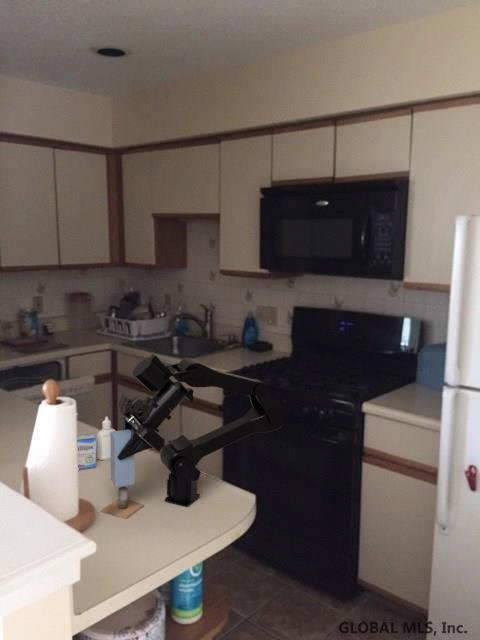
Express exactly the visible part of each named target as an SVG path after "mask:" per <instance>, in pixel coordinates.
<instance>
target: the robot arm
mask: <svg viewBox="0 0 480 640" xmlns="http://www.w3.org/2000/svg"><path fill="white" fill-rule="evenodd" d="M131 374H132V376H133V378H135V379H136V380H137V381H138V382H139V383H140V384H141V385H142V386H143V387H144V388H146V389H147V390H148V391H149V392H154V391H156V393H154V395H153V396H152V397H150V396H146V397H145V398H144V399H142V398H139V397H137V396H134V395H130V394H128V393H125V392H122V394H121V396H120V398H119V399H118V403H117V405H116V407H118V408H119V410H120V414H122V415H123V417H122V419H121V420H122V427H123V428H122V430H130V431H131V438H130V439H129V441H128V442H127V444H126V445H125V446H124V448H123V449H122V451H121V452H120V454H119V455H118V457H117V458H118V459H119V460H123V459H125V458H127V457H130V456H132V455H134V456H135V455H136V454H138V453H140V452H144V451H146V450H149V449H151V450H152V449H153V448H154V449H155V450H156V451H158V452H160V455H159V457H160V461H161V463H162V464H163V465H164V466H165V467H166V469H168V471H169V472H170V473H169V474H168V478H166V479H167V480H166V495H167V497H165V498H164V502H168V503H170V504H175V505H179V506H183V507H189V506H190V505H192V504H193V503H195V501H197V500H198V499H199V498H200V497H201V494H200V493H198V481H199V479H200V476H201V473H202V472H201V470H199V468H198V467H197V465H199V462H200V461H201V460H202V459H203V458H204V457H206V456H208V455H210V454H212V453H214V452H216V451H219V450H221V449H224V448H225V447H228V446H229V445H231V444H234V443H236V442H238V441H240V440H242V439H244V438H246V437H248V436H250V435H254V434H260V433H261V434H262V433H269V432H274V431H276V430H279V429H280V428H282V426H283V425H284V422H285V418H286V417H285V412H284V410H282V409H281V408H280V407H279V406H278V405H279V404H278V403H277V401H276V400H275V399H274V397H273V396H272V394H271V392H270V390H269V389H268V388H269V387H268V386H267V384H266V383H265V382H262V380H261V381H260V380H258V379H257V378H249V377H245V376H241V375H238V374H233V373H229V372H225V371H222V370H217V369H214V368H212V367H210V366H208V365H206V364H203V363H202V362H200V361H197V360H196V359H193V358H191V357H185V358H183V359H182V360H180V361H179V362H178V363H173V364H169V365H165V364H164V363H163V362H162V360H161V359H160V358H159V357H158V356H157V355H156V354H154V353H153V354H151V355H150V356H148V357H146V358H145V359H143V360H142V361H139V362H138V364H137V365H136V366H135V367H134V369H133V370H132V373H131ZM171 378H172V379H175V380H176V381H173V380H171ZM183 383H185V384H186V385H187V386H189V387H186V386H185V385H184V384H183ZM212 387H214V388H219V389H224V390H228V391H232V392H235V393H240V394H245V395H248V396H249V400H250V404H251V406H252V407H251V408H249V410H248V411H247V413H245V415H244V416H243V417H240V418H238V419H235V420H234V421H231V422H229V423H227V424H225V425H223V426H220V427H218V428H216V429H214V430H212V431H210V432H208V433H205V434H203V435H200V436H199V437H197V438H194V439H188V438H187V437H186V436H185V435H184V434H182V435H180V436H179V437H177V438H175V439H173V440H168V441H167V444H165V443H166V442H165V441H166V439H165V438H164V437H163V436H162V435H161V434H160V433H159V432H160V430H159V427H160V426H161V425H162V423H163V422H164V421H165V420H168V421H169V420H171V419H172V415H171V413H173V411H174V410H176V409H177V407H178V406H179V404H181V402H182V401H183V400H184V399H185V398H186V399H187V400H188V401H190V402H191V403H192V402H194V389H193V388H204V389H205V388H212ZM124 416H125V417H126V418H125V417H124Z"/></svg>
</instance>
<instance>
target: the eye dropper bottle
mask: <svg viewBox="0 0 480 640" xmlns="http://www.w3.org/2000/svg"><path fill="white" fill-rule="evenodd" d="M101 422H102V423H101V424H102V425H101V429H100V430H99V431H97V434H96V460H99V461H107V460H111V443H110V432H113V431H116V430H115V429H114V428H112V421H111V420H110V419H109V416H105V417H104V420H103V421H101Z"/></svg>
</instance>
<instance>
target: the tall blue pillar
mask: <svg viewBox="0 0 480 640" xmlns="http://www.w3.org/2000/svg"><path fill="white" fill-rule="evenodd" d="M130 438H131V431H130V430H123V429H122V430H115V431H113V432H110V443H111V459H110V481H111V482H112V483H113V486H114V488H120V487H126V486H130V485H135V454H134V455H132V456H130V457H127V458H125V459H123V460H119V459H118V458H117V457H118V455H119V454H120V452H121V451H122V449H123V448H124V446H125V445H126V444H127V442H128V441H129V439H130Z"/></svg>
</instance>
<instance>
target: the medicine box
mask: <svg viewBox="0 0 480 640" xmlns="http://www.w3.org/2000/svg"><path fill="white" fill-rule="evenodd" d="M76 435H77V444H78V468H79V470H78V471H83V470H89V469H95V468H96V467H97V437H96V436H95V434H94V433H93V432H92V433H84V434H76Z"/></svg>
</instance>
